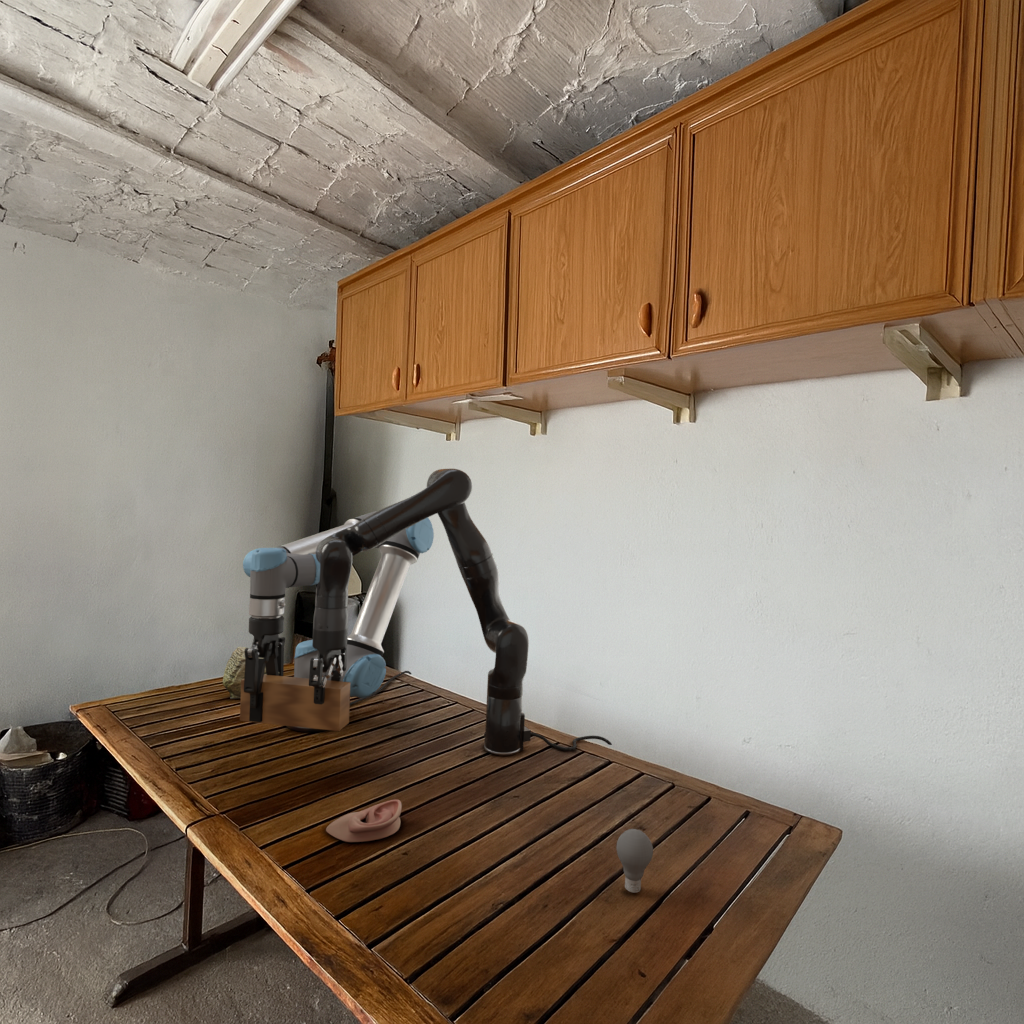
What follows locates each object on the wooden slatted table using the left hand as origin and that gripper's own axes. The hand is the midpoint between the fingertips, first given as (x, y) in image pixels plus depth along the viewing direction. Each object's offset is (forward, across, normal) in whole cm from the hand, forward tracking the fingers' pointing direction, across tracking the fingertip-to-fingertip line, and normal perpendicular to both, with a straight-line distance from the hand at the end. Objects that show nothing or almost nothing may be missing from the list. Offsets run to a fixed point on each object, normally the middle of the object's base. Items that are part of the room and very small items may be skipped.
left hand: (263, 716), depth 145 cm
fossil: (+12, +49, +31) cm, 59 cm away
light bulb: (+12, -28, -83) cm, 88 cm away
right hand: (-6, 0, -15) cm, 16 cm away
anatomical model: (+12, -19, -32) cm, 39 cm away
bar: (+1, 0, -8) cm, 8 cm away
